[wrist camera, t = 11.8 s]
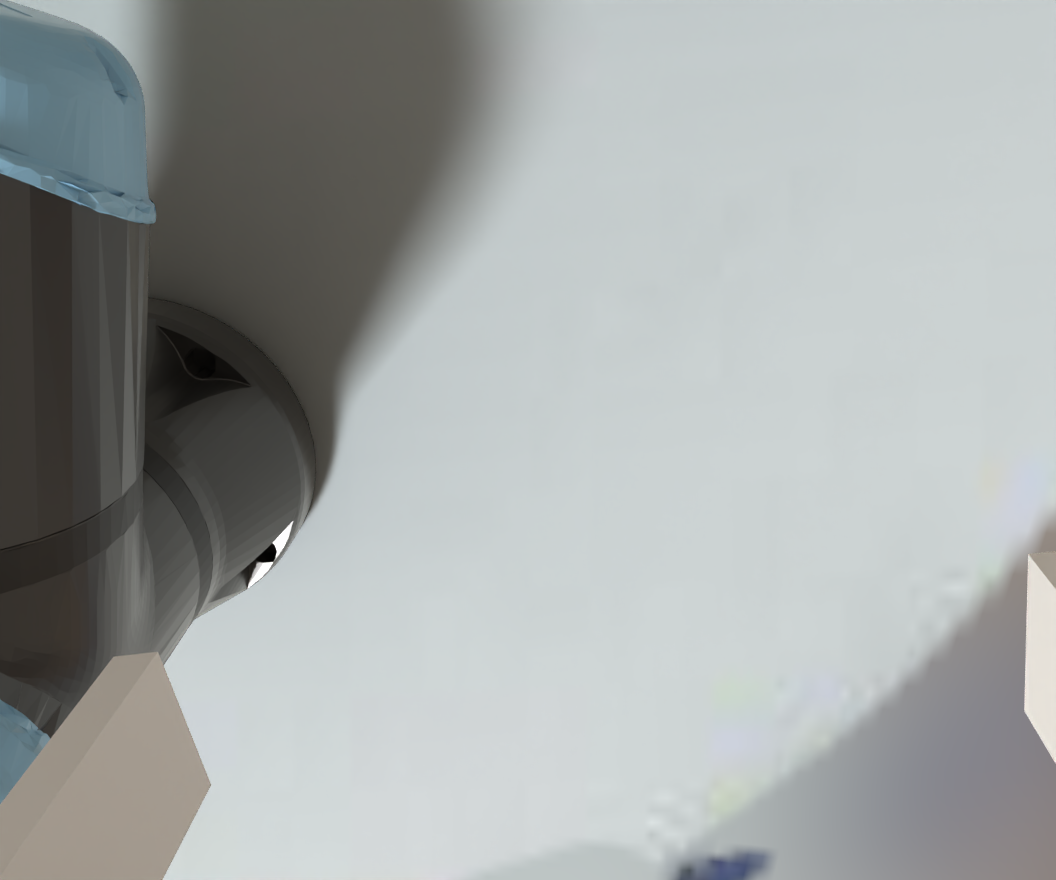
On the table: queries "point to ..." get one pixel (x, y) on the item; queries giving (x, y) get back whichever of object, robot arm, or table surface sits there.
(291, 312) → the table surface
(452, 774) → the table surface
